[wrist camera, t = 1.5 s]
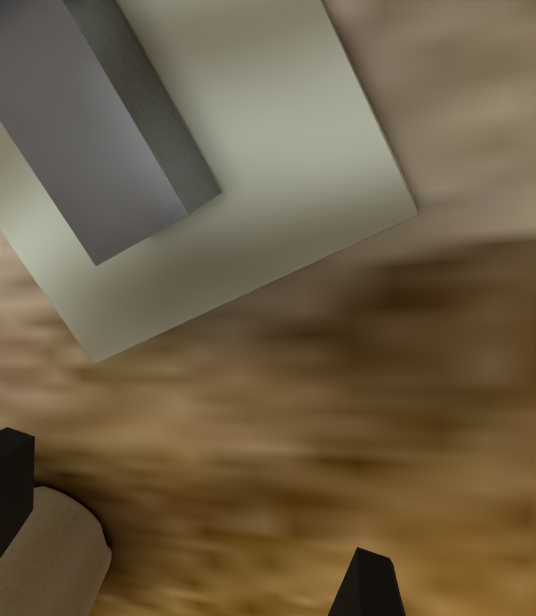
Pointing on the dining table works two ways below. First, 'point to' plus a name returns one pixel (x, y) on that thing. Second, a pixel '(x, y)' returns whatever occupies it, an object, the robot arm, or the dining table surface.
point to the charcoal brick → (96, 123)
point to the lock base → (223, 171)
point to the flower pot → (54, 560)
